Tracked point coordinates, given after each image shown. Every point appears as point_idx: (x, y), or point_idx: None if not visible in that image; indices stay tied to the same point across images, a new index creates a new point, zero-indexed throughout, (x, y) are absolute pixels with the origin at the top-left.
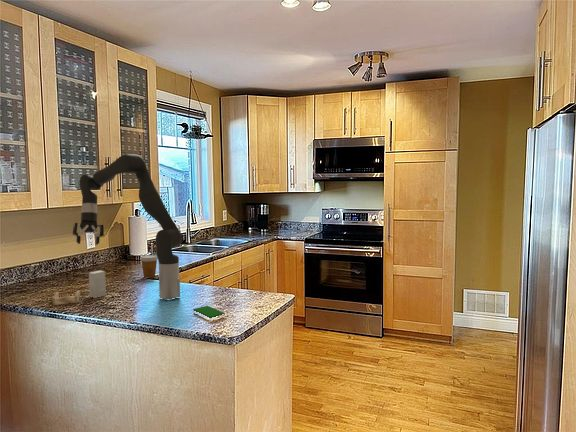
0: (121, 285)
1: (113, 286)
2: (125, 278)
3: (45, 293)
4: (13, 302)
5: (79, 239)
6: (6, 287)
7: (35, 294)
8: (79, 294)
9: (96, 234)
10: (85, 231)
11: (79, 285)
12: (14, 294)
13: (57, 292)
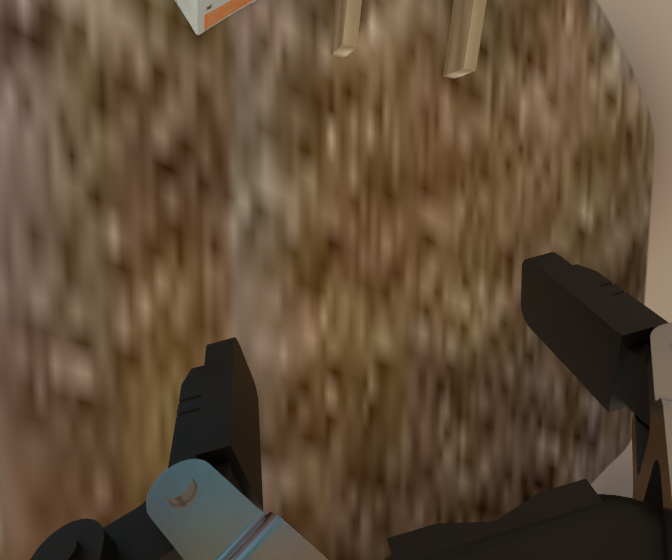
0: (44, 234)
1: (108, 228)
2: (19, 441)
3: (498, 225)
4: (627, 106)
5: (587, 288)
6: (630, 416)
7: (539, 226)
8: (339, 17)
9: (249, 503)
10: (602, 495)
11: (331, 341)
12: (613, 269)
13: (469, 55)
